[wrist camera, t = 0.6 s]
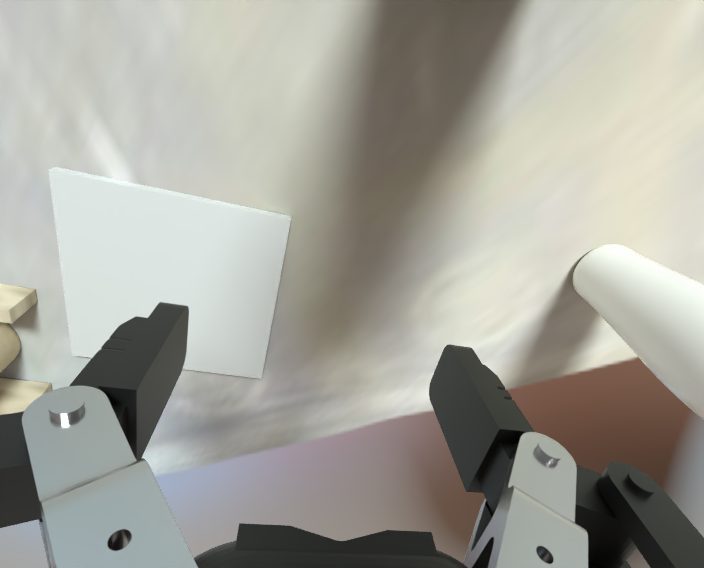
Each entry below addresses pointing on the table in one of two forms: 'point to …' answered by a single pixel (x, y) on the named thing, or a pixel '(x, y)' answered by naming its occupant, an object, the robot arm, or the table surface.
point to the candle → (8, 345)
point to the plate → (168, 267)
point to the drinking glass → (650, 315)
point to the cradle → (13, 393)
